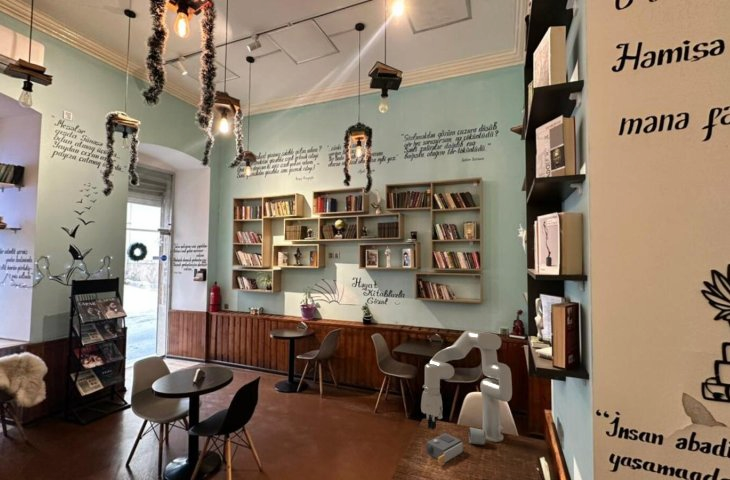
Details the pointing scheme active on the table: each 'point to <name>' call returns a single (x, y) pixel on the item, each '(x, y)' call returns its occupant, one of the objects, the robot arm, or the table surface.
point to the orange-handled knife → (451, 453)
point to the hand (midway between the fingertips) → (431, 427)
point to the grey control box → (441, 445)
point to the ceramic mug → (477, 436)
